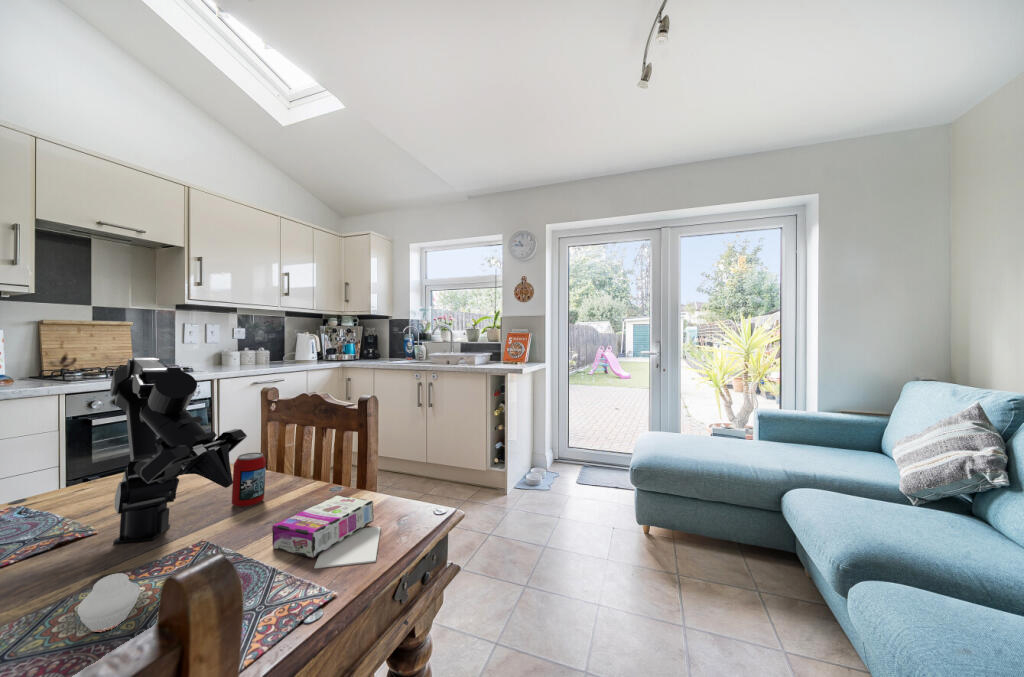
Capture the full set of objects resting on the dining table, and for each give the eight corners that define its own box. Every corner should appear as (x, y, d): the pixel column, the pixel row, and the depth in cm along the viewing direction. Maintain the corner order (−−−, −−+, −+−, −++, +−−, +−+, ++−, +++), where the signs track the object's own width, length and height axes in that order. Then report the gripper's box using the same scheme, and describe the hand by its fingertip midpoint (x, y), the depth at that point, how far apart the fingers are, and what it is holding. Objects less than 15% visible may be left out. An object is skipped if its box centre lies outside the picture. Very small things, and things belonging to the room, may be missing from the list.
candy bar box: (312, 560, 71) (374, 521, 86) (312, 533, 71) (374, 499, 86) (271, 550, 75) (337, 515, 91) (270, 524, 75) (337, 493, 91)
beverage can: (247, 510, 92) (250, 460, 92) (224, 507, 93) (226, 457, 94) (270, 499, 99) (272, 453, 99) (248, 497, 100) (250, 450, 100)
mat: (314, 568, 69) (314, 566, 69) (329, 532, 83) (329, 530, 83) (375, 562, 72) (375, 560, 72) (380, 527, 85) (380, 526, 85)
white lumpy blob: (65, 633, 52) (69, 581, 52) (124, 606, 58) (127, 559, 58) (90, 647, 50) (93, 592, 50) (148, 617, 56) (151, 568, 56)
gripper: (182, 442, 81) (231, 496, 81) (87, 468, 62) (150, 539, 62) (222, 406, 81) (271, 460, 81) (140, 421, 63) (204, 492, 63)
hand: (229, 485), depth 72 cm, fingers closed
